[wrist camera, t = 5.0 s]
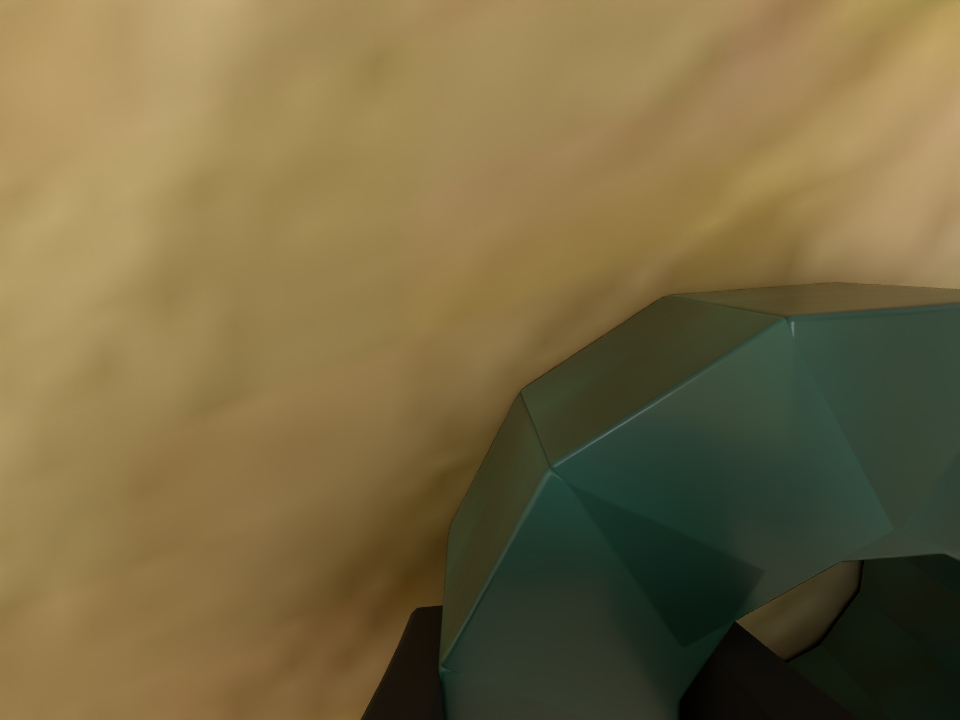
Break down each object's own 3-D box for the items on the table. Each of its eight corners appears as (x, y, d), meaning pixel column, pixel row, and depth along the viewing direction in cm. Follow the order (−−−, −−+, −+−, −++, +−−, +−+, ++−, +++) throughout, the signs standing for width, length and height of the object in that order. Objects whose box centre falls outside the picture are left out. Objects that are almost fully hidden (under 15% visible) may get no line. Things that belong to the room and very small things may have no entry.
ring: (476, 811, 11) (479, 1043, 7) (427, 313, 8) (399, 346, 5) (970, 769, 11) (1178, 979, 8) (1071, 264, 8) (1446, 265, 5)
